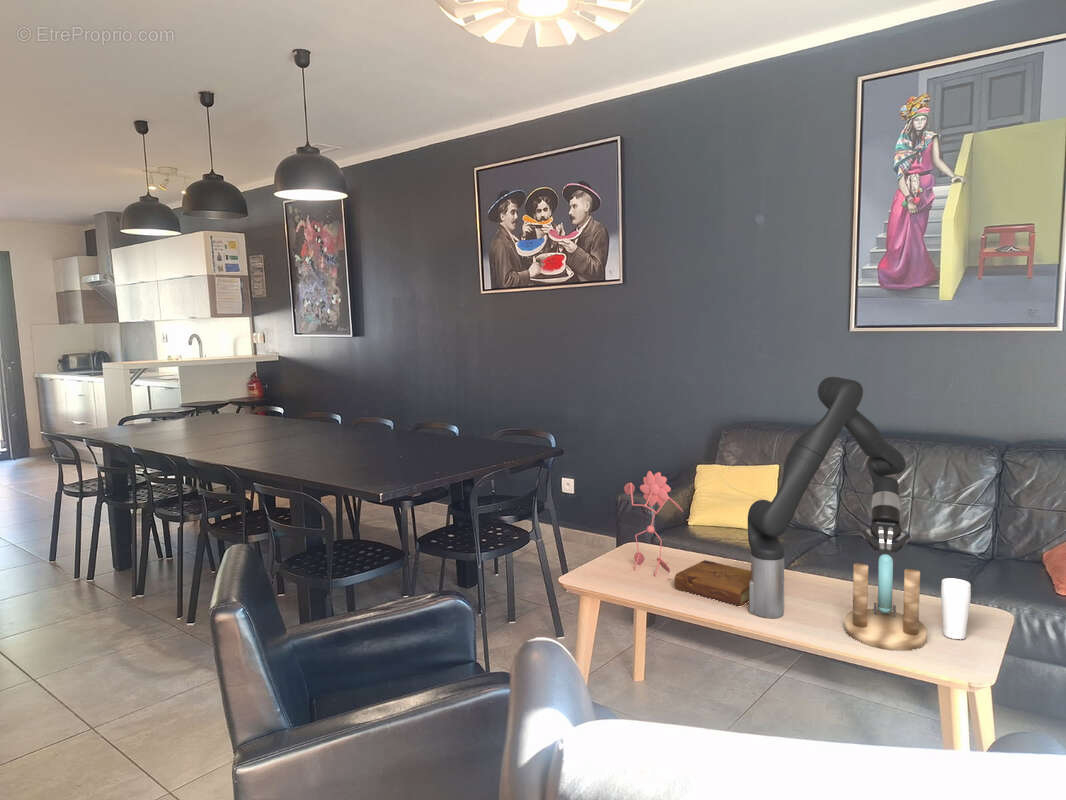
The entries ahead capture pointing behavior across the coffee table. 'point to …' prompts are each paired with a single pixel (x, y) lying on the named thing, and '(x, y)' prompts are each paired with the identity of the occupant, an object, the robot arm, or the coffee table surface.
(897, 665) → the coffee table surface
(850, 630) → the stool
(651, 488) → the figurine
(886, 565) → the teal capsule cylinder
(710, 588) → the diary
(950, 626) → the drinking glass
